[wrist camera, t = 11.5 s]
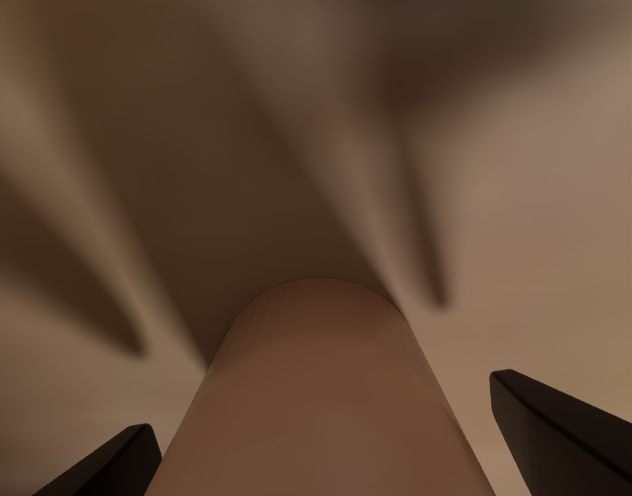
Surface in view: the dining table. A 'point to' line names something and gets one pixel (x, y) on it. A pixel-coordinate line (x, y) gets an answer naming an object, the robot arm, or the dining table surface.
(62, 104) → the dining table surface
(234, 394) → the terracotta capsule
